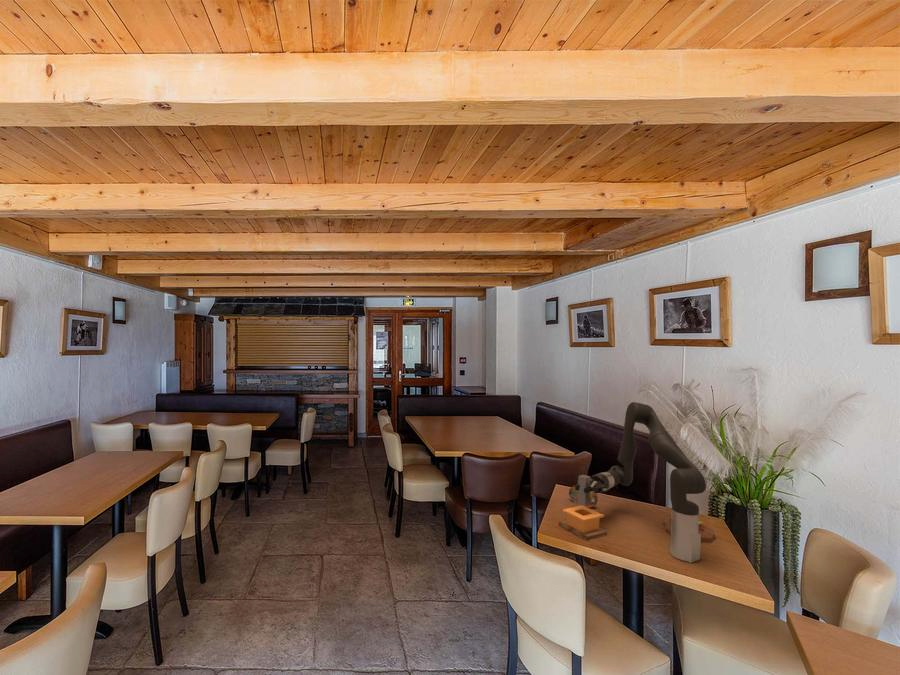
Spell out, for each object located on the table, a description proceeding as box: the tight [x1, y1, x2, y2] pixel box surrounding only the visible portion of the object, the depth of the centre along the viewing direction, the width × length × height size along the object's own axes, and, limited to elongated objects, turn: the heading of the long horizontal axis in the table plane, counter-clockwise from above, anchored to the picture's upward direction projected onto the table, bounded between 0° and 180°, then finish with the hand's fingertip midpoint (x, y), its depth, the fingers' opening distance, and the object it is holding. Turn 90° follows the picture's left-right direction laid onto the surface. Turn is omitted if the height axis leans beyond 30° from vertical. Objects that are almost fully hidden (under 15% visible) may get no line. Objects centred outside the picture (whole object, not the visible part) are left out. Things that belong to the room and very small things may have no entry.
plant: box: [662, 517, 716, 544], centre depth 187 cm, size 20×20×11 cm
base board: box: [558, 519, 608, 541], centre depth 185 cm, size 16×12×2 cm
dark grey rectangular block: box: [577, 474, 592, 506], centre depth 186 cm, size 4×4×12 cm
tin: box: [568, 485, 599, 509], centre depth 215 cm, size 15×3×8 cm, turn 40°
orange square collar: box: [562, 505, 605, 533], centre depth 185 cm, size 12×12×6 cm
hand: (580, 489), depth 184 cm, fingers closed on dark grey rectangular block, 3 cm apart
